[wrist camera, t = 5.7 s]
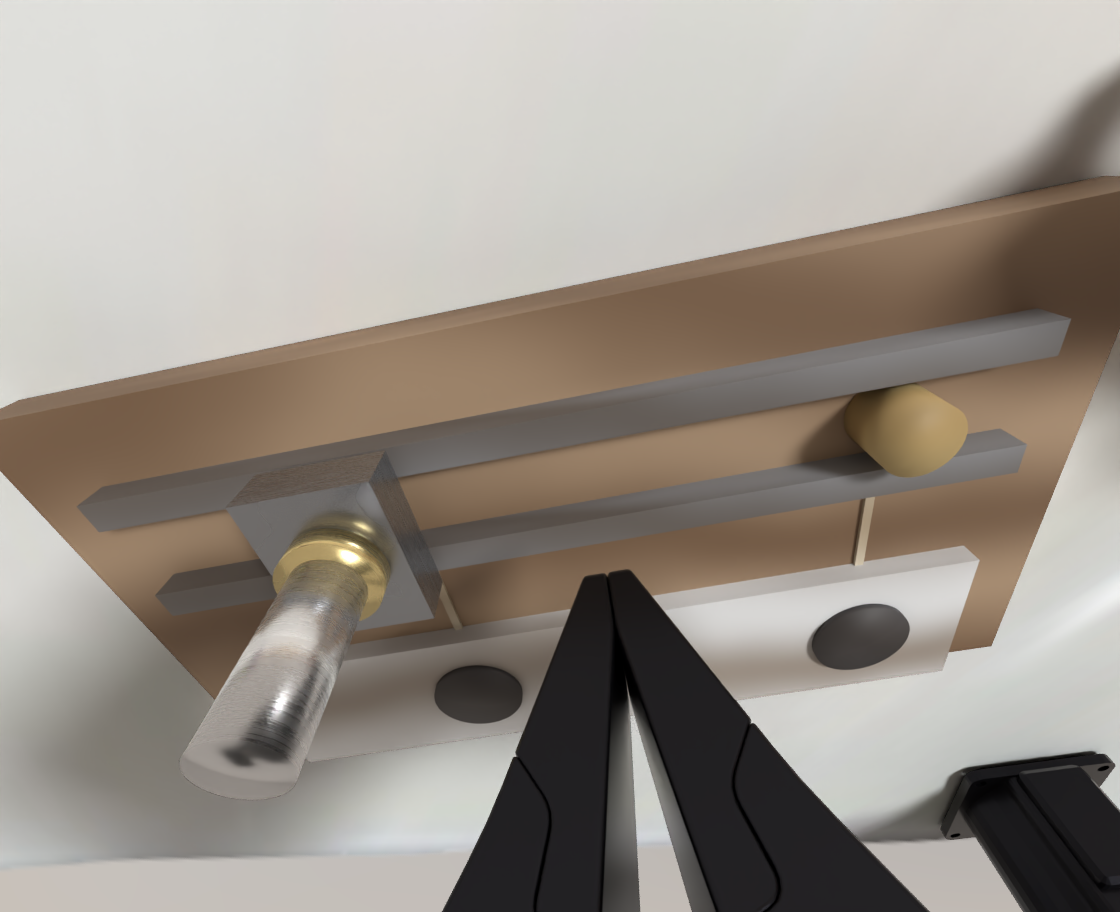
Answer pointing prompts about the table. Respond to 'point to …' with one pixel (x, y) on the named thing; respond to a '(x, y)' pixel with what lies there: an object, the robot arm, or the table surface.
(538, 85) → the table surface
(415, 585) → the sliding handle
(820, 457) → the brown flat wooden board
